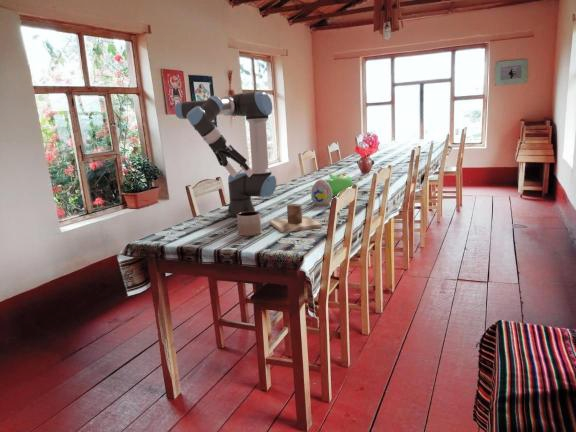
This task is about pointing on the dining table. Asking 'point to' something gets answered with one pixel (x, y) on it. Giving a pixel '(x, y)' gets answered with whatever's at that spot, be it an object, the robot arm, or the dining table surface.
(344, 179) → the toy bird
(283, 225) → the square base plate
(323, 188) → the decorative egg
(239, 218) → the planter
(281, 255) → the dining table surface
